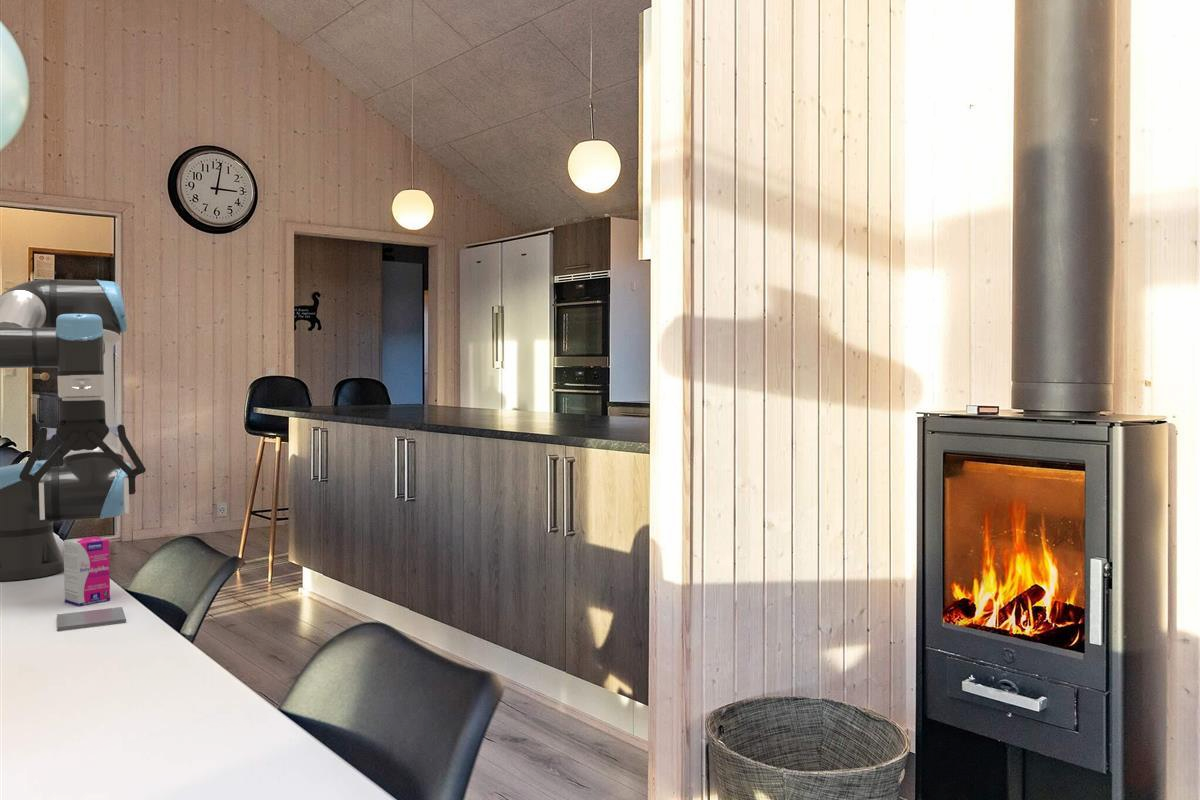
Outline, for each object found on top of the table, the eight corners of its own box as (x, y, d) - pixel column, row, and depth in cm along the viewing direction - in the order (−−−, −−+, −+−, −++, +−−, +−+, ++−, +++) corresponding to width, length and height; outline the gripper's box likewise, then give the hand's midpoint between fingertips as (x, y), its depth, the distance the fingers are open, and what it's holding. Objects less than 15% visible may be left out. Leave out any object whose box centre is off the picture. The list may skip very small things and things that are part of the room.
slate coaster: (57, 617, 167) (56, 614, 167) (122, 610, 172) (122, 606, 172) (57, 631, 158) (57, 627, 158) (126, 622, 163) (125, 618, 163)
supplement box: (79, 607, 175) (77, 543, 174) (63, 602, 178) (61, 540, 178) (111, 600, 179) (110, 538, 179) (96, 596, 183) (94, 535, 182)
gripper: (0, 401, 168) (4, 524, 169) (158, 397, 180) (162, 512, 181) (2, 400, 175) (6, 518, 175) (155, 397, 187) (158, 507, 188)
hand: (85, 515), depth 178 cm, fingers open, 13 cm apart
